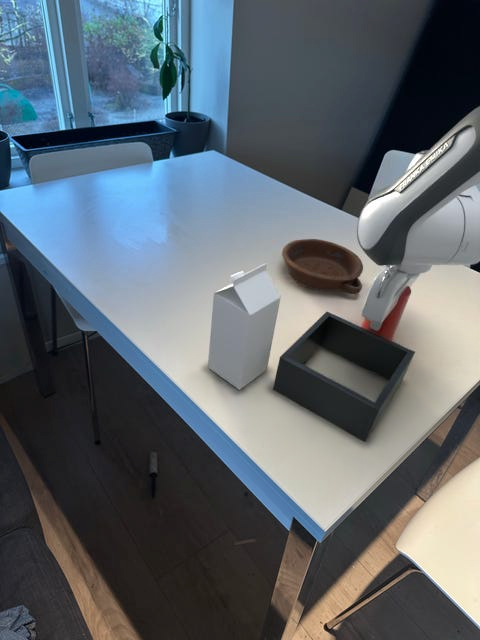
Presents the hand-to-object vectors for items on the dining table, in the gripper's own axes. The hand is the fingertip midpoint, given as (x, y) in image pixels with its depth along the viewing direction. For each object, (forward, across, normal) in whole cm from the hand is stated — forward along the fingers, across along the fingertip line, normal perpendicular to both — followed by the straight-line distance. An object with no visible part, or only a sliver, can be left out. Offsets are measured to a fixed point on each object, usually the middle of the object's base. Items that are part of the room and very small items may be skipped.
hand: (382, 318), depth 82 cm
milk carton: (+5, -24, +15) cm, 29 cm away
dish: (+5, +13, +19) cm, 24 cm away
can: (+5, 0, 0) cm, 5 cm away
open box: (+5, -16, 0) cm, 17 cm away
